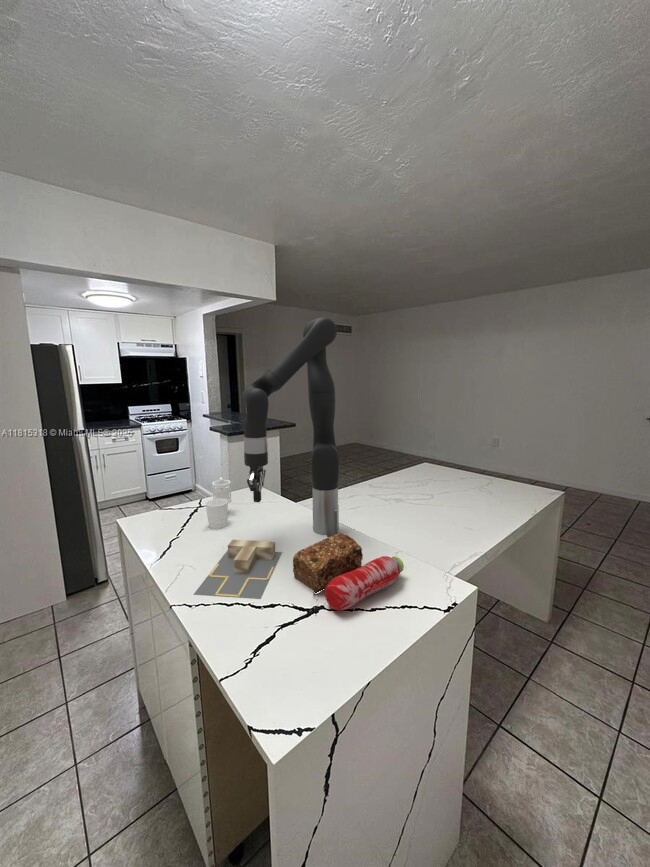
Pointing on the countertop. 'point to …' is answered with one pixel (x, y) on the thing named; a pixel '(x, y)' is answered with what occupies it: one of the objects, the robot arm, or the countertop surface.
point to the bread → (326, 560)
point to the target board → (238, 579)
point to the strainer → (222, 490)
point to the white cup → (217, 513)
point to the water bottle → (362, 581)
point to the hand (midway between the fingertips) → (257, 501)
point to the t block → (249, 553)
